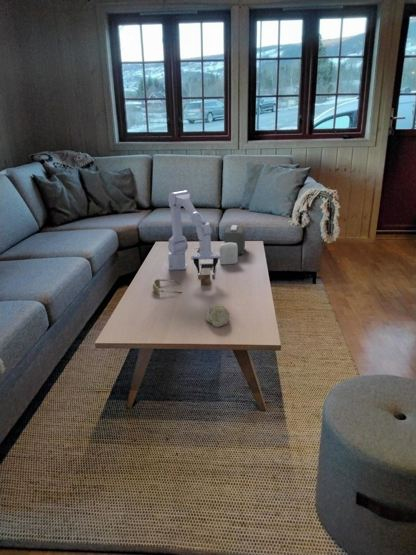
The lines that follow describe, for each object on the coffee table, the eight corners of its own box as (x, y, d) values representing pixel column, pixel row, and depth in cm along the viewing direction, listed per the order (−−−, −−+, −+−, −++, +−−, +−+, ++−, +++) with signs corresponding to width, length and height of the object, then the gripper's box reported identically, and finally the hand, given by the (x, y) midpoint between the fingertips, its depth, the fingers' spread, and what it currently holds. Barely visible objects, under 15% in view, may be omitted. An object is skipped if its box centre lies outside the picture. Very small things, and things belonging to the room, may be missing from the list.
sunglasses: (152, 285, 214) (153, 276, 212) (182, 286, 215) (182, 278, 214) (152, 297, 201) (152, 287, 199) (183, 298, 202) (183, 289, 201)
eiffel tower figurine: (214, 255, 252) (213, 234, 247) (197, 257, 250) (196, 236, 245) (208, 247, 266) (207, 227, 261) (193, 249, 264) (191, 229, 259)
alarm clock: (227, 247, 264) (226, 223, 258) (245, 247, 263) (245, 223, 256) (224, 255, 249) (224, 231, 243) (243, 256, 248) (243, 231, 242)
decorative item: (239, 314, 172) (220, 311, 166) (230, 332, 174) (212, 330, 168) (224, 300, 181) (206, 297, 175) (216, 317, 184) (198, 315, 178)
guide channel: (198, 278, 219) (198, 274, 219) (200, 266, 234) (199, 263, 233) (214, 277, 219) (214, 274, 218) (215, 266, 234) (215, 263, 233)
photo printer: (236, 261, 240) (236, 240, 235) (238, 263, 236) (238, 243, 232) (219, 262, 239) (218, 242, 234) (220, 265, 235) (220, 244, 230)
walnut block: (201, 285, 210) (200, 274, 208) (201, 279, 218) (201, 268, 215) (209, 285, 210) (209, 274, 208) (210, 279, 218) (209, 268, 215)
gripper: (190, 250, 204) (191, 275, 209) (219, 249, 203) (220, 275, 208) (191, 245, 210) (192, 270, 216) (219, 244, 210) (220, 269, 215)
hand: (206, 272), depth 212 cm, fingers open, 7 cm apart
